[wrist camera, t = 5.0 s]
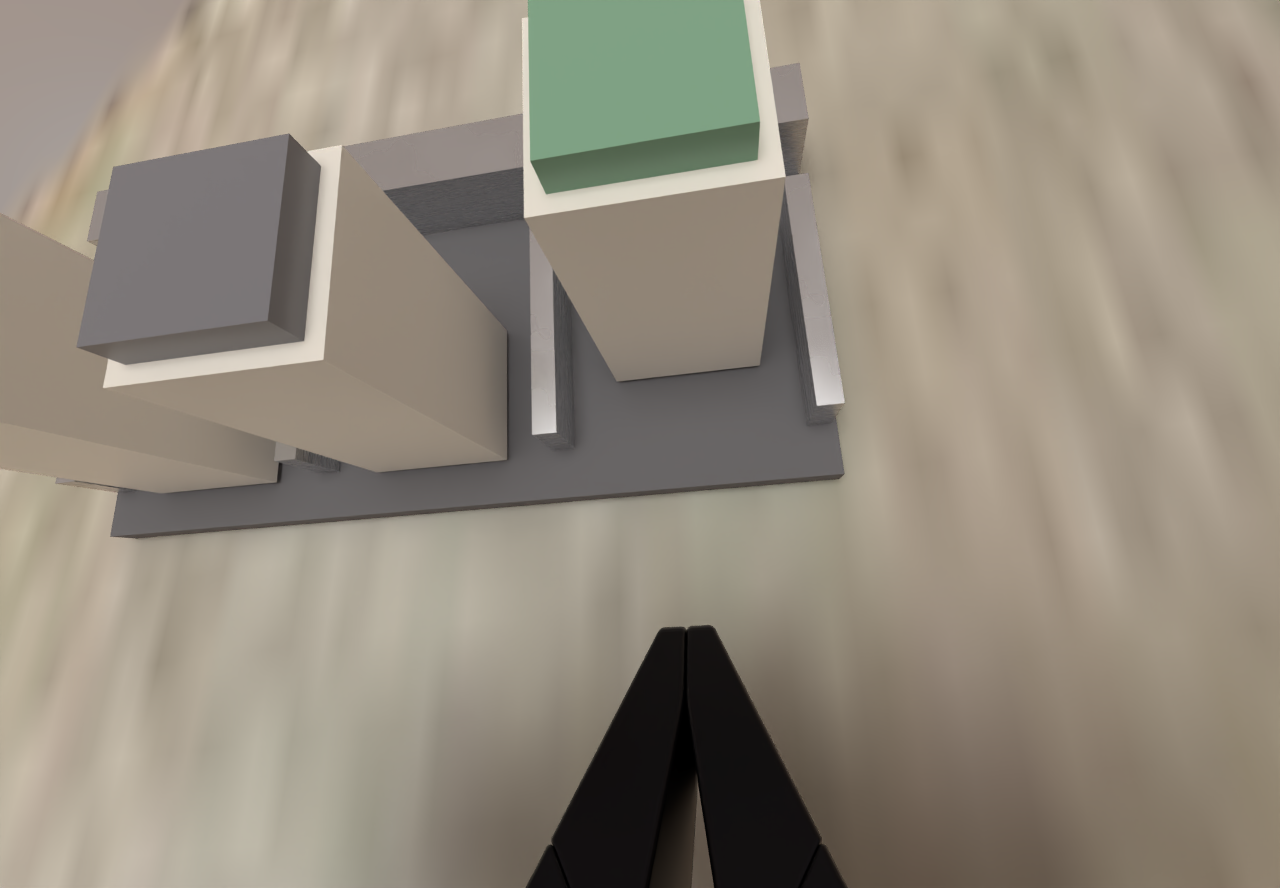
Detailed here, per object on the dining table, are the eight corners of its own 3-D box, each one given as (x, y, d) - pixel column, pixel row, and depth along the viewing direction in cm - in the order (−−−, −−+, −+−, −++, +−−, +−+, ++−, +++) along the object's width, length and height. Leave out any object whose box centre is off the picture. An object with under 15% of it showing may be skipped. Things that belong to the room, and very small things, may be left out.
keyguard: (836, 423, 16) (854, 397, 14) (117, 493, 20) (36, 481, 17) (791, 126, 19) (799, 62, 17) (163, 232, 22) (97, 191, 20)
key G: (759, 365, 17) (790, 138, 8) (616, 381, 17) (506, 186, 9) (744, 237, 18) (756, -81, 9) (610, 257, 19) (506, -25, 10)
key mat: (839, 478, 17) (844, 473, 16) (134, 538, 20) (110, 536, 19) (788, 144, 20) (791, 126, 19) (182, 243, 23) (163, 232, 22)
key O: (276, 482, 18) (-121, 395, 10) (161, 493, 19) (-310, 421, 10) (289, 358, 20) (-59, 183, 11) (179, 373, 20) (-233, 217, 12)
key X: (507, 459, 17) (287, 340, 9) (376, 472, 18) (51, 371, 9) (506, 330, 18) (311, 110, 10) (384, 346, 19) (98, 152, 10)
